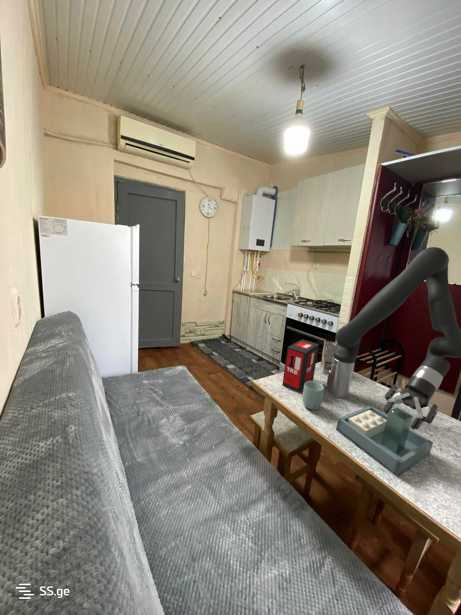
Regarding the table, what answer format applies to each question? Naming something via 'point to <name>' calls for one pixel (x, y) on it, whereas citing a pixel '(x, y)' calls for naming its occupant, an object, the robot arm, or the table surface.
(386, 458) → the tray
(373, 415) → the egg carton
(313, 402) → the cup
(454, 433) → the table surface
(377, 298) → the robot arm
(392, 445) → the tea tin
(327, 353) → the coffee box
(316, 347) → the cleaning product box
